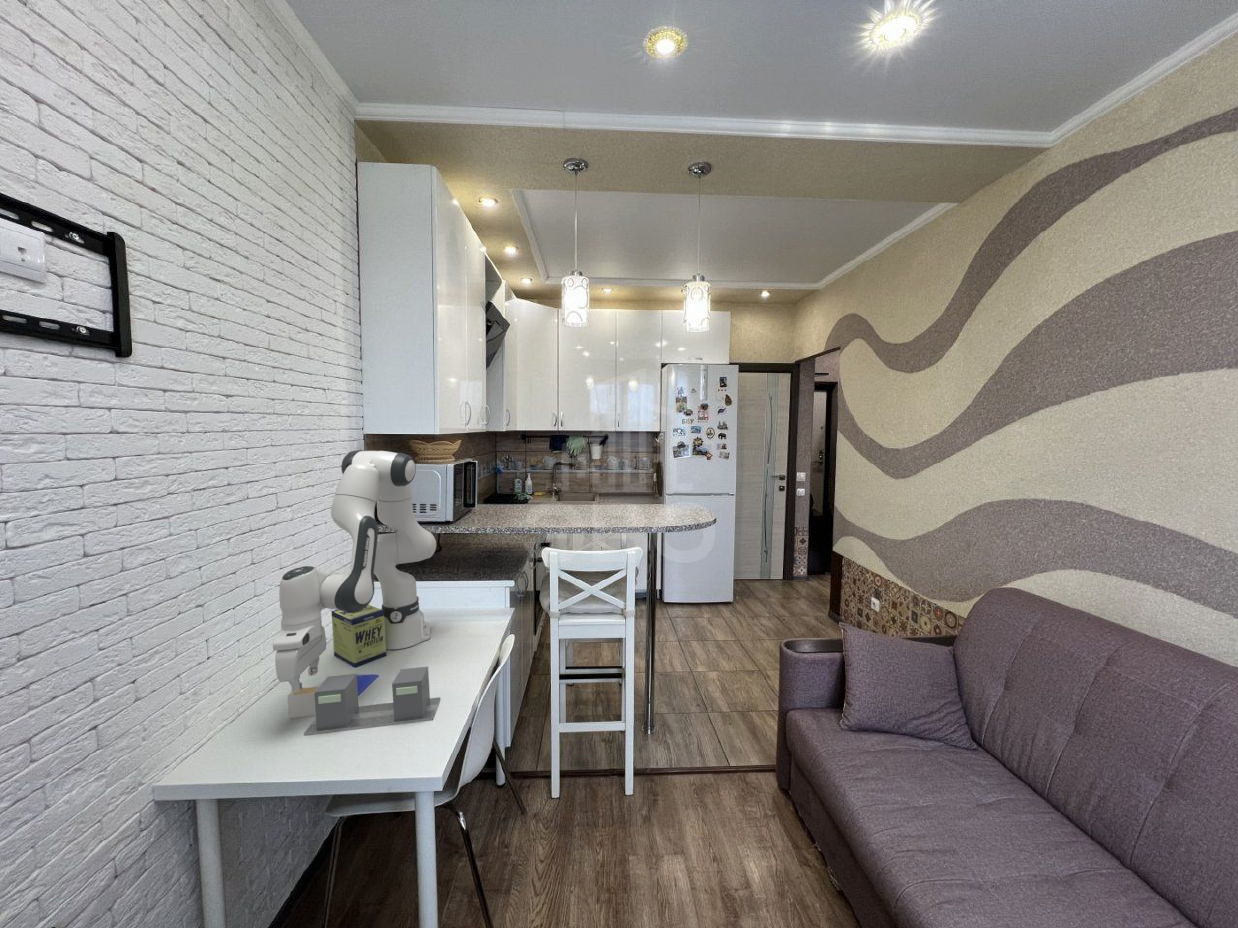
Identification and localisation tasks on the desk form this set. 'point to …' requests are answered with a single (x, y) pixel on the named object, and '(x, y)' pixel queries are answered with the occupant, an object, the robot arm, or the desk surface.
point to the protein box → (359, 635)
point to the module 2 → (411, 693)
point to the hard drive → (365, 682)
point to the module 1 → (336, 701)
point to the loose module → (302, 703)
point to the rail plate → (376, 717)
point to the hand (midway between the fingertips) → (305, 682)
